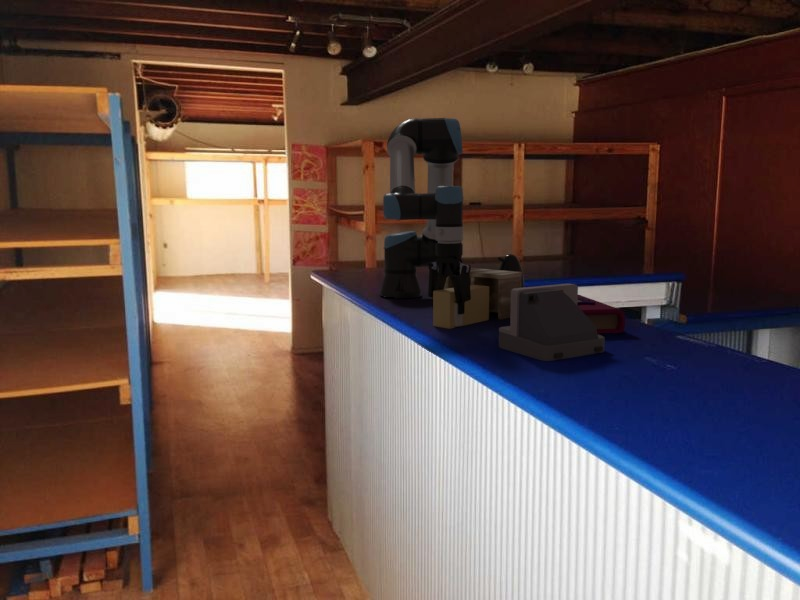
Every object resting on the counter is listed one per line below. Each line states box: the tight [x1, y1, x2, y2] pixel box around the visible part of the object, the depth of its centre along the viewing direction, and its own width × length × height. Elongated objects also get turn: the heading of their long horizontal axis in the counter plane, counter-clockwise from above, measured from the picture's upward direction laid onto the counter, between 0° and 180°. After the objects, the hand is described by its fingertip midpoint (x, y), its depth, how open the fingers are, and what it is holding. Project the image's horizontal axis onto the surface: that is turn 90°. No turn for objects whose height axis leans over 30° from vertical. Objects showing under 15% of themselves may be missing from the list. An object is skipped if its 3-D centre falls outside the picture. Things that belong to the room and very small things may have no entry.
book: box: [577, 294, 626, 335], centre depth 193 cm, size 21×28×8 cm
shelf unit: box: [445, 267, 523, 320], centre depth 213 cm, size 22×10×13 cm, turn 46°
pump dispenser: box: [497, 253, 525, 288], centre depth 249 cm, size 10×10×15 cm
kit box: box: [432, 285, 490, 330], centre depth 197 cm, size 6×18×10 cm, turn 136°
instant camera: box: [498, 283, 606, 362], centre depth 162 cm, size 21×21×15 cm
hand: (449, 323), depth 194 cm, fingers open, 6 cm apart
